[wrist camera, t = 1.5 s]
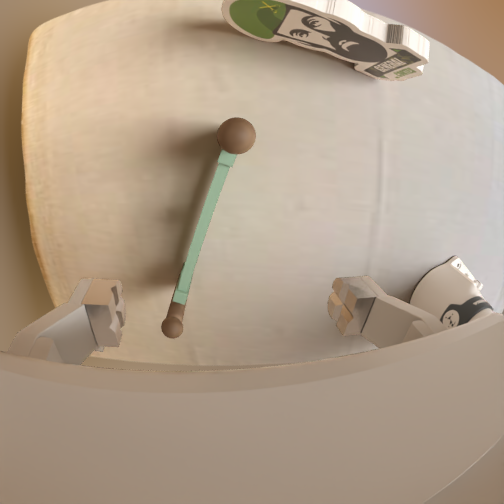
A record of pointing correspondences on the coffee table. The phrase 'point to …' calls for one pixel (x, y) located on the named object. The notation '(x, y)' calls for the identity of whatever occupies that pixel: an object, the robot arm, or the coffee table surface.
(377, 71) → the cutout
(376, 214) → the coffee table surface
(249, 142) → the gate posts
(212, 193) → the gate
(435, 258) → the coffee table surface
